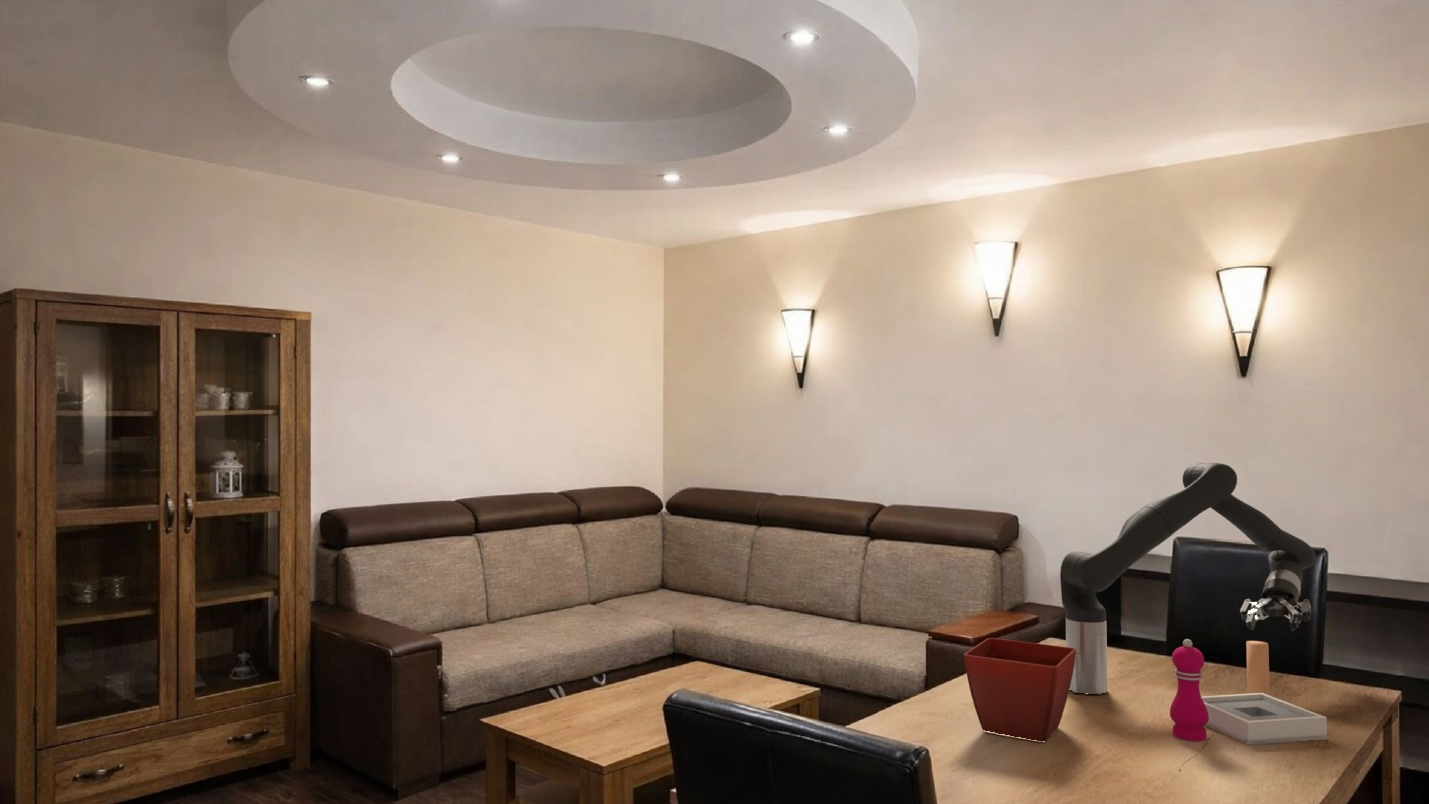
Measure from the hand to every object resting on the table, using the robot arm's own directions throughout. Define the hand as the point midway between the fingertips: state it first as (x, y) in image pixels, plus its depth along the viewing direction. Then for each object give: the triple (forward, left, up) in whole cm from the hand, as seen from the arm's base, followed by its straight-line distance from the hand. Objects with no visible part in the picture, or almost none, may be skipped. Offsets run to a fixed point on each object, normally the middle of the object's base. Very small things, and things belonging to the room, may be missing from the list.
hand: (1270, 626), depth 221 cm
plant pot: (-67, -9, -17) cm, 70 cm away
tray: (-18, -17, -17) cm, 30 cm away
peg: (-5, -2, -17) cm, 18 cm away
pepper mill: (-35, -19, -17) cm, 44 cm away
